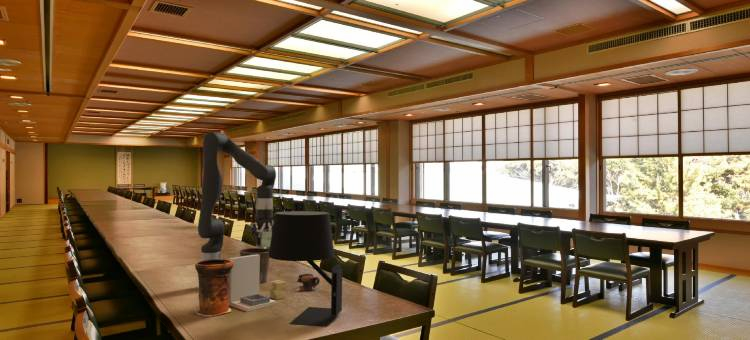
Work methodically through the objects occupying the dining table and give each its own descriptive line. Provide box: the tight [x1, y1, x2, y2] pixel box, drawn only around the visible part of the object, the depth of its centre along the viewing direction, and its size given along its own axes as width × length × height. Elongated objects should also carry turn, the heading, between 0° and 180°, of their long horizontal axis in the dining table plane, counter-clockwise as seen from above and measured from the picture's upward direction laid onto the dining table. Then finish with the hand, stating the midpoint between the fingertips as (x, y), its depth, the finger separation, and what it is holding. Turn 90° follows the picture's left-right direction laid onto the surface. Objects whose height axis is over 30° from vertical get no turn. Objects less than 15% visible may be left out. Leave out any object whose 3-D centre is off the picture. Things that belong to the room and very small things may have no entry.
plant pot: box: [238, 247, 270, 285], centre depth 231 cm, size 16×16×16 cm
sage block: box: [255, 230, 272, 249], centre depth 207 cm, size 5×5×7 cm
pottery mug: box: [296, 273, 321, 292], centre depth 218 cm, size 12×10×8 cm
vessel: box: [194, 258, 233, 317], centre depth 178 cm, size 14×14×20 cm
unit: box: [228, 254, 277, 313], centre depth 189 cm, size 14×14×20 cm
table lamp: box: [268, 210, 343, 328], centre depth 175 cm, size 26×28×40 cm
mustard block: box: [269, 279, 287, 300], centre depth 201 cm, size 5×5×7 cm
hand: (263, 244), depth 207 cm, fingers closed on sage block, 5 cm apart
